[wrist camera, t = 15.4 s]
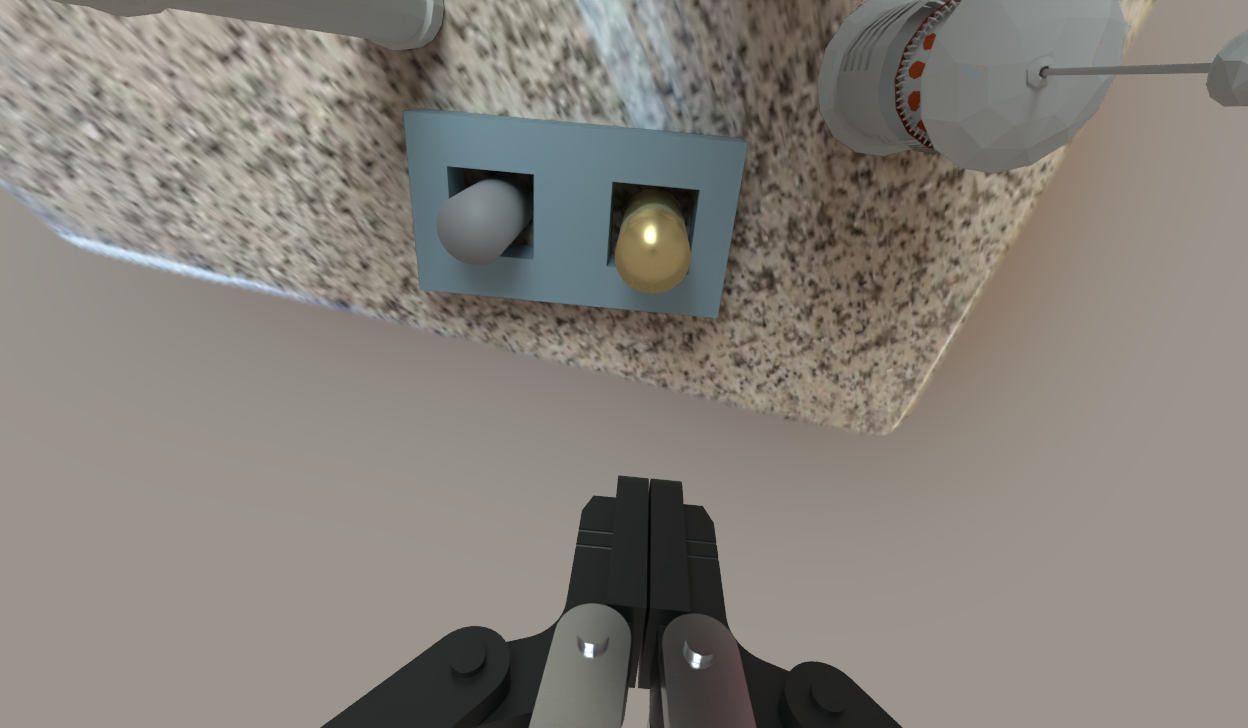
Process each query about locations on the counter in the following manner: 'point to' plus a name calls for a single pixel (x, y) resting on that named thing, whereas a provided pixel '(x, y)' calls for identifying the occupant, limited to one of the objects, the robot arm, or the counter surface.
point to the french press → (986, 76)
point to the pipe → (309, 15)
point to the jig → (561, 207)
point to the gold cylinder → (653, 243)
